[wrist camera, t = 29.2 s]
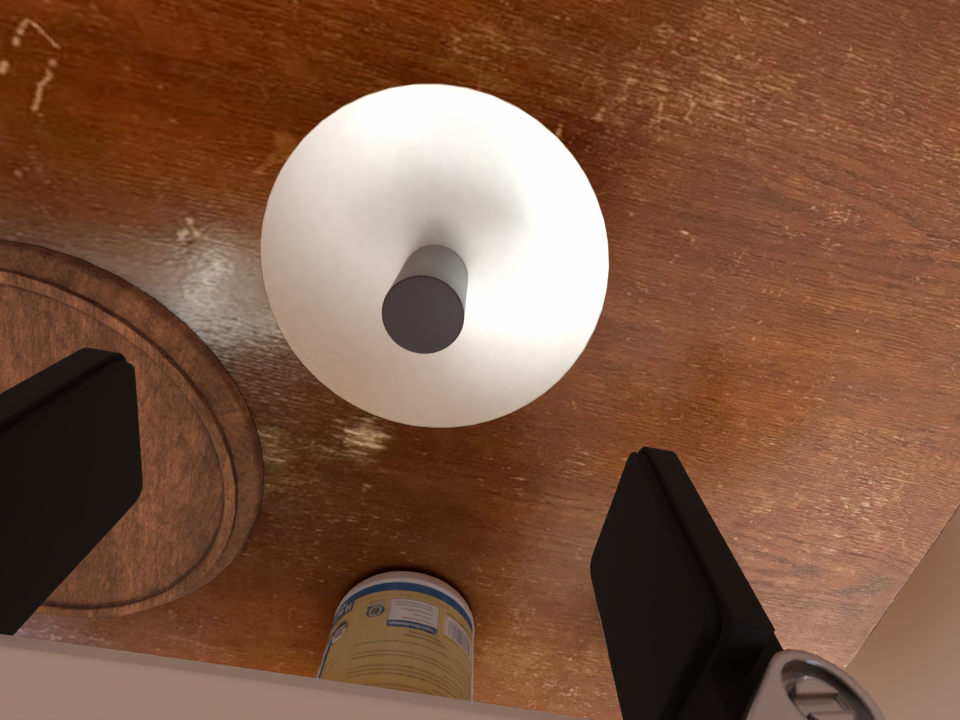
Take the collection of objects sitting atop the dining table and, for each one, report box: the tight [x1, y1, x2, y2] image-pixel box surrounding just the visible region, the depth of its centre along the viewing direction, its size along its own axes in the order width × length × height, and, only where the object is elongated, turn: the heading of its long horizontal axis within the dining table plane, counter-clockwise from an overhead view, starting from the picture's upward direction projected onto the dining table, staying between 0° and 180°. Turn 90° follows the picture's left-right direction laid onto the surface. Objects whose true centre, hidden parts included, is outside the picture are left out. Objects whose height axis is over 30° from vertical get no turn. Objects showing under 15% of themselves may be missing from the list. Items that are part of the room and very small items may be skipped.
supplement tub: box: [316, 571, 474, 701], centre depth 40 cm, size 12×12×17 cm
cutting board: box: [0, 240, 264, 618], centre depth 40 cm, size 32×32×2 cm
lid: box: [260, 83, 609, 428], centre depth 23 cm, size 16×16×7 cm
